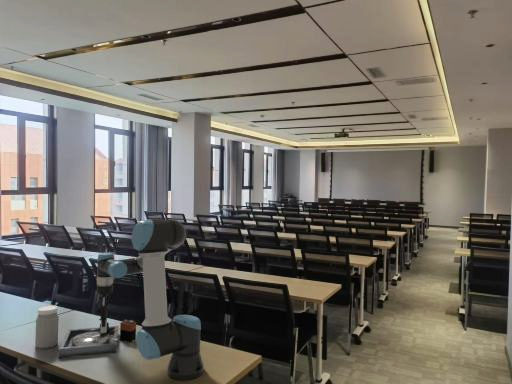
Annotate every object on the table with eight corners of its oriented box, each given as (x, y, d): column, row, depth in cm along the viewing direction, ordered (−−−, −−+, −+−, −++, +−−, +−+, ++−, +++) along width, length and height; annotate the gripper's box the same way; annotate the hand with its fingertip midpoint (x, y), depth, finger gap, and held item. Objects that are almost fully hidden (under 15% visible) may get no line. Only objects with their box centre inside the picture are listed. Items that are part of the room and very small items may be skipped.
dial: (80, 352, 171) (81, 336, 171) (65, 341, 183) (66, 326, 183) (116, 342, 184) (116, 327, 184) (100, 332, 195) (100, 318, 195)
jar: (47, 340, 187) (48, 303, 187) (62, 343, 184) (64, 306, 184) (29, 347, 178) (31, 309, 178) (46, 351, 175) (47, 312, 175)
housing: (117, 352, 176) (118, 343, 176) (58, 358, 168) (58, 348, 168) (119, 333, 199) (120, 325, 199) (67, 337, 191) (68, 329, 191)
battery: (130, 342, 187) (130, 322, 187) (119, 340, 190) (120, 320, 190) (136, 339, 191) (136, 320, 191) (125, 337, 194) (125, 318, 194)
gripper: (112, 287, 180) (110, 336, 181) (114, 280, 193) (112, 326, 193) (95, 288, 178) (93, 338, 178) (98, 281, 191) (96, 327, 191)
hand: (103, 332), depth 186 cm, fingers closed
